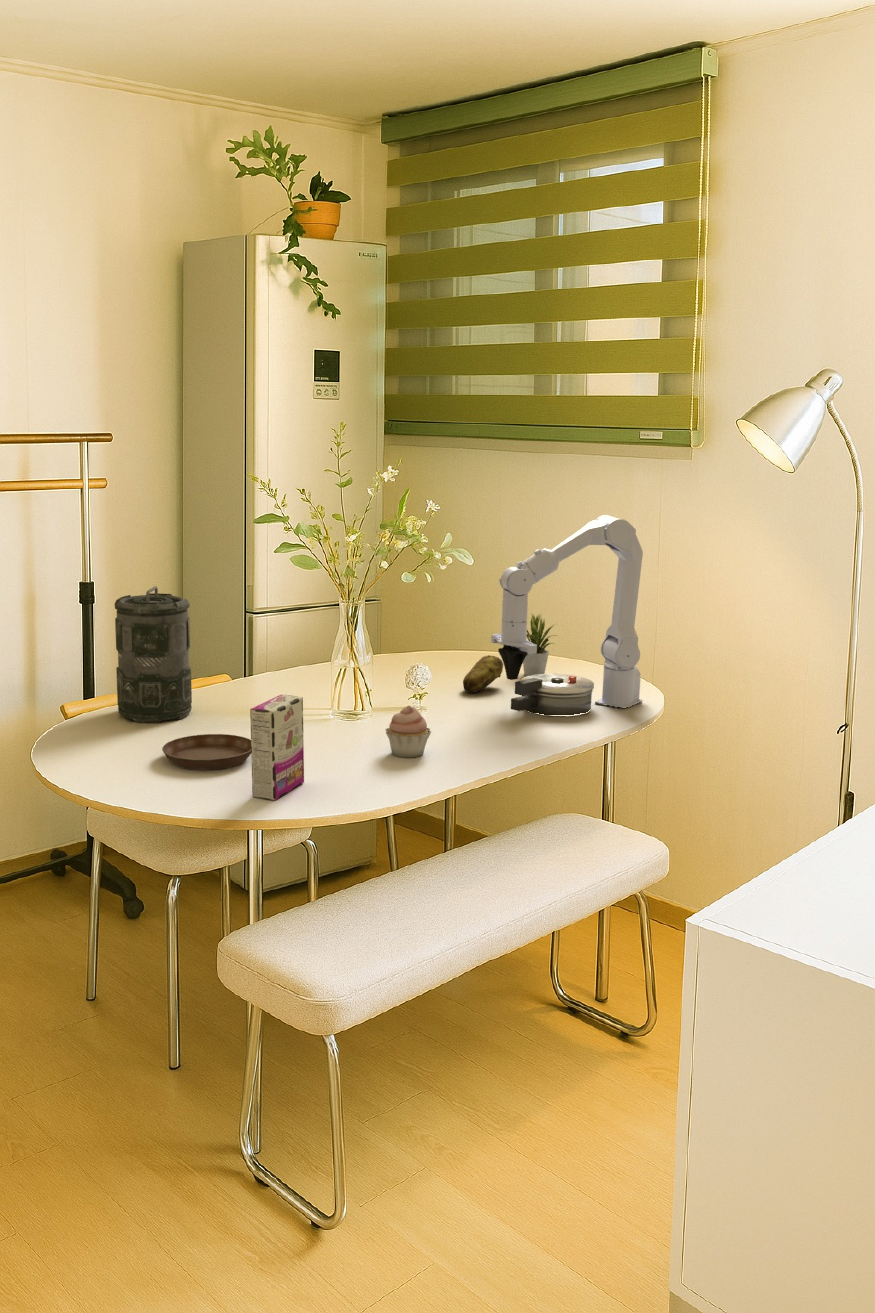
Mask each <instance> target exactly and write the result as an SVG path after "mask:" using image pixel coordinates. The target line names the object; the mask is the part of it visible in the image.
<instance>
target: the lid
mask: <svg viewBox="0 0 875 1313" xmlns="http://www.w3.org/2000/svg"><path fill="white" fill-rule="evenodd" d="M594 689H595V682H594V681H592V680H591V679H588V678H587V677H582V676H579V675H573V674H566V673H565V674H564V673H545V674H536V675H530V676H526V675H525V676H524V677H522V678H521V679H520V680H519V681H515V682H514V694H515V695H518V696H524V695H528V694H532V693H536V692H540V693H547V694H580V693H585V692H589V691H591V690H593V691H594Z"/></svg>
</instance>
